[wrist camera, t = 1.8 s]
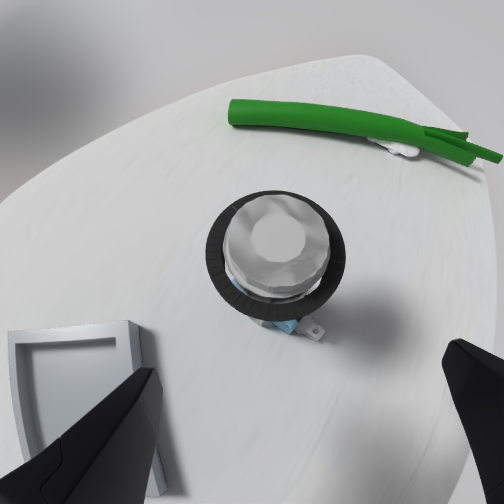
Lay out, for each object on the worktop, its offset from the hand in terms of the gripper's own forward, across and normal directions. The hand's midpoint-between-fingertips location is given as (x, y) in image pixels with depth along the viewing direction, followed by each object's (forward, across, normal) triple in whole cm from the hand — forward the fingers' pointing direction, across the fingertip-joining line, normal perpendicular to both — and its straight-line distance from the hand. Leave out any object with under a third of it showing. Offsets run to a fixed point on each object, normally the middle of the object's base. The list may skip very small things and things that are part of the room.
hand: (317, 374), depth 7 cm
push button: (+11, 0, +5) cm, 12 cm away
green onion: (+22, -12, -6) cm, 26 cm away
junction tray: (+5, +15, +10) cm, 19 cm away
